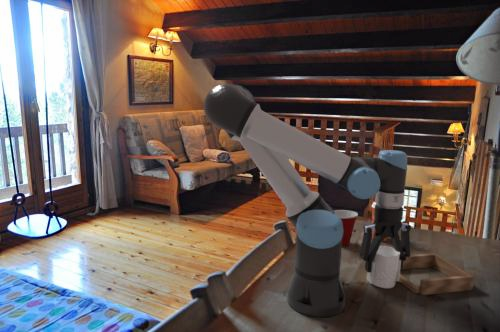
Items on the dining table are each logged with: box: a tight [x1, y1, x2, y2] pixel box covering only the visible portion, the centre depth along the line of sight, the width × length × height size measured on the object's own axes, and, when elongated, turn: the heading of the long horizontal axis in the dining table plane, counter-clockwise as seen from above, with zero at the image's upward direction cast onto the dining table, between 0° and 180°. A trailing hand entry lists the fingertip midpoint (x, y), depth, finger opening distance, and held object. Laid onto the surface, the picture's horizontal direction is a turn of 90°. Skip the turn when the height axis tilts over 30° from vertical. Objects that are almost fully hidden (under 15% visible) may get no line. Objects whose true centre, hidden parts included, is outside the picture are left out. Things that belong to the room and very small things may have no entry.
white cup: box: [373, 245, 400, 289], centre depth 109 cm, size 8×8×10 cm
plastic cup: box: [333, 209, 359, 247], centre depth 138 cm, size 11×11×12 cm
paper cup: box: [371, 201, 388, 242], centre depth 143 cm, size 8×8×14 cm
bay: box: [398, 252, 475, 296], centre depth 113 cm, size 18×16×4 cm
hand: (382, 280), depth 110 cm, fingers closed on white cup, 7 cm apart
